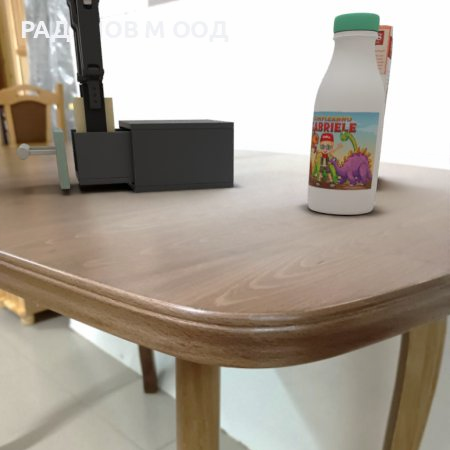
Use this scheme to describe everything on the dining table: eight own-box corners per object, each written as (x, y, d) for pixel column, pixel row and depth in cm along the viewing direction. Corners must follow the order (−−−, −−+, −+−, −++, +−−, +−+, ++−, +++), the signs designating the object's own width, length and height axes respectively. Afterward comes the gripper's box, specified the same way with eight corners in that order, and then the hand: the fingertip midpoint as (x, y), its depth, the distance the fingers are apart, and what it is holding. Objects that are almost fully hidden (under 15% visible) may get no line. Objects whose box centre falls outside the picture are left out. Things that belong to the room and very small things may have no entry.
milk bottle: (320, 201, 62) (333, 23, 55) (381, 207, 59) (404, 17, 51) (296, 211, 56) (307, 13, 49) (362, 219, 53) (385, 5, 45)
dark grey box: (135, 192, 68) (130, 123, 65) (122, 180, 79) (118, 120, 76) (233, 187, 72) (234, 122, 69) (208, 175, 84) (208, 119, 80)
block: (78, 136, 67) (74, 97, 65) (76, 134, 71) (72, 97, 69) (115, 136, 68) (112, 97, 66) (111, 134, 73) (108, 97, 71)
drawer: (21, 191, 64) (12, 132, 61) (24, 179, 74) (16, 128, 71) (160, 184, 69) (157, 130, 67) (145, 173, 79) (142, 126, 77)
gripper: (116, -84, 54) (131, 137, 63) (100, -42, 70) (114, 129, 79) (44, -92, 52) (70, 138, 60) (44, -47, 67) (65, 130, 76)
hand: (95, 133), depth 69 cm, fingers closed on block, 5 cm apart
